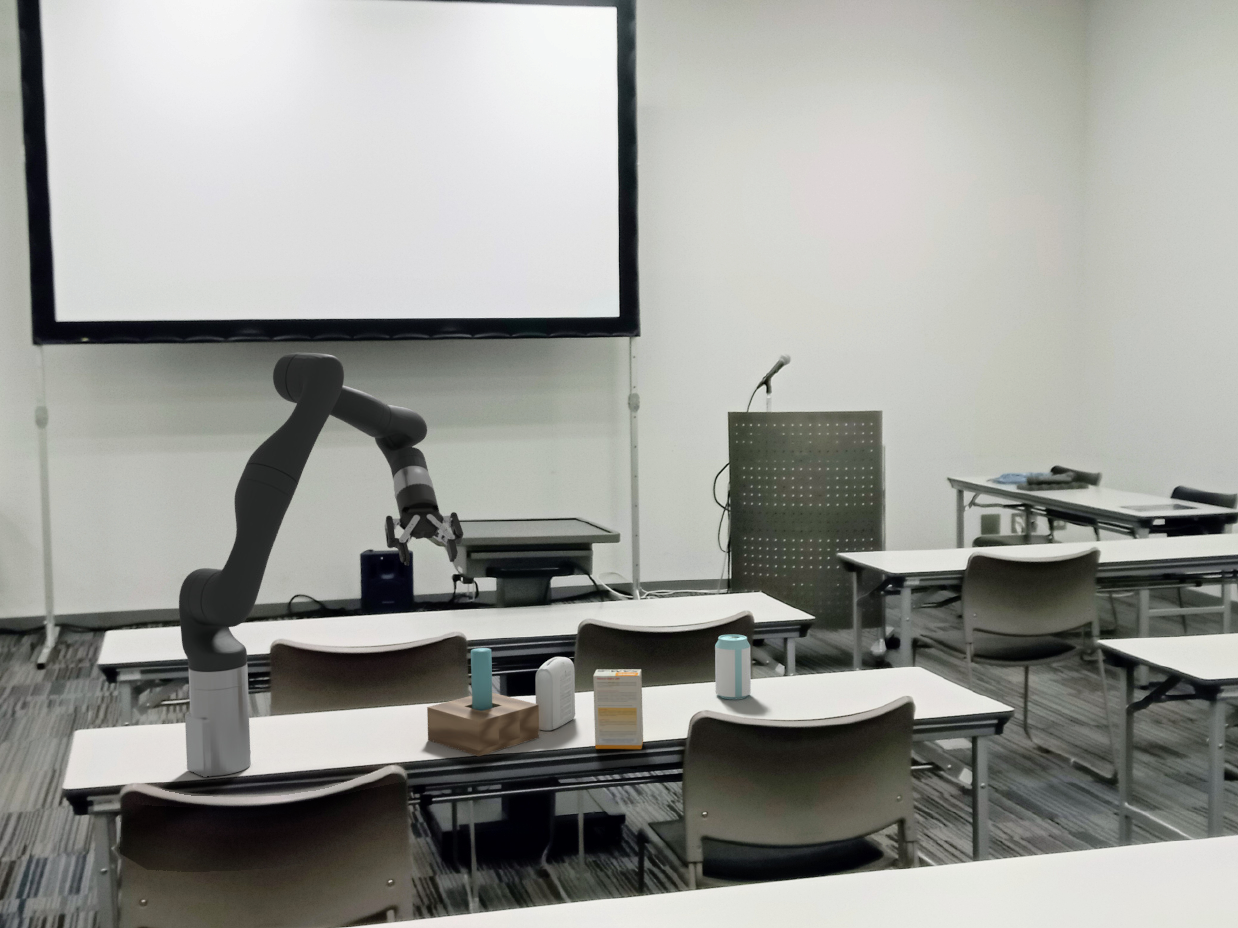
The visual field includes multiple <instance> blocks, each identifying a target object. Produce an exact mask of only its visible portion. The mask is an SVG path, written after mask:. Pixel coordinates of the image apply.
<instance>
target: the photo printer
mask: <svg viewBox="0 0 1238 928" xmlns="http://www.w3.org/2000/svg"><path fill="white" fill-rule="evenodd" d="M575 683H576V681H575V665H574V662H573V661H572V660H571V659H570V658H568V657H565V656H554V657H552V658H550V659H548V660H547V661H545V662H544V663H543V664H542V665H541V666H540V667H539V668H538V670H537V671H536V673H535V704H538V705H539V731H540V730H541V731H547V732H549V731H552V730H556V729H558V728H560V727H562V726H563V725H565V724H568V722H571V721H572V720H573V719H574V718H575V716H576V699H575V698H576V697H575V696H576V695H575V694H576V693H575V692H576V687H575V685H576V684H575Z"/></svg>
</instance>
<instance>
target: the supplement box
mask: <svg viewBox="0 0 1238 928" xmlns="http://www.w3.org/2000/svg"><path fill="white" fill-rule="evenodd" d="M642 676H643V675H642V669H641V668H640V669H632V668H631V669H629V668H628V669H623V668H621V669H605V668H604V669H600V668H599V669H598V668H597V669H596V670H595V672H594V674H593V676H592V677H593V679H592V680H593V682H592V683H593V710H594V711H593V713H594V714H593V715H594V719H593V720H594V745H595V747H594V748H595V749H596V750H642V748H643V743H644V721H643V720H644V717H643V715H644V714H643V685H642V684H643V683H642V681H643V679H642V678H643V677H642Z"/></svg>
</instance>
